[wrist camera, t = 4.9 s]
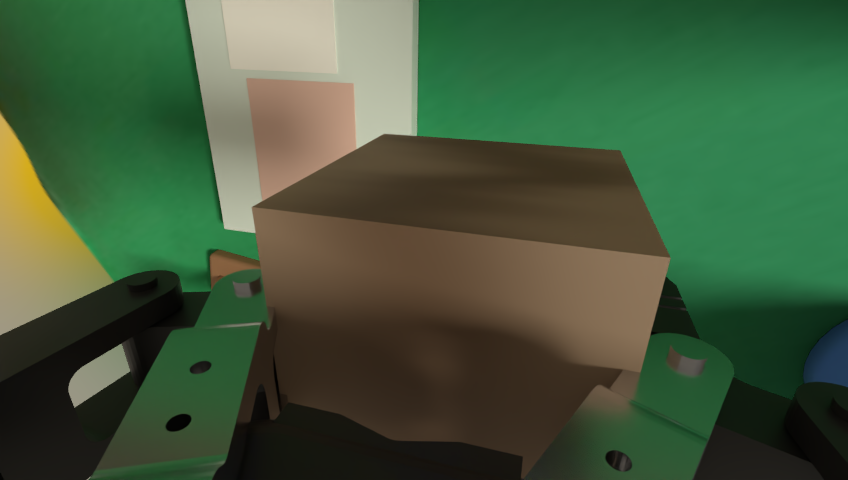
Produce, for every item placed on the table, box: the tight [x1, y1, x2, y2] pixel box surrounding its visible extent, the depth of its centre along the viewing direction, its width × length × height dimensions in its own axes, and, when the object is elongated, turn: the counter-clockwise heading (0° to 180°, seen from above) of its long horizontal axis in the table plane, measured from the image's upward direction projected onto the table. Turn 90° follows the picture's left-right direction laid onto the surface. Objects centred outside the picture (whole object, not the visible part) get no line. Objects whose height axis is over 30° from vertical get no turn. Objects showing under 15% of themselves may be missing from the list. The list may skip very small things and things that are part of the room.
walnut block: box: [252, 134, 670, 479], centre depth 10 cm, size 6×6×6 cm
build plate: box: [185, 0, 419, 233], centre depth 29 cm, size 14×18×1 cm
